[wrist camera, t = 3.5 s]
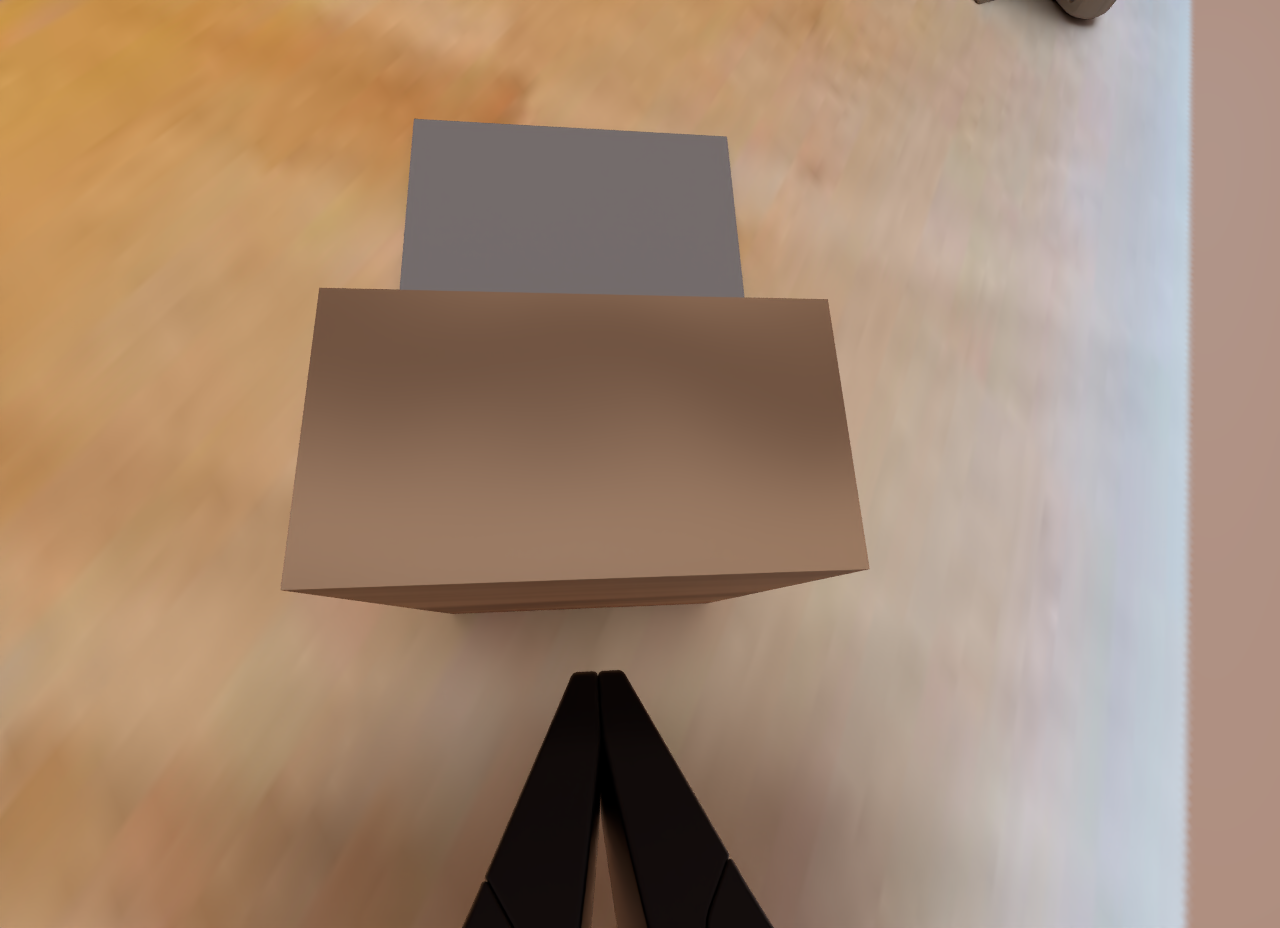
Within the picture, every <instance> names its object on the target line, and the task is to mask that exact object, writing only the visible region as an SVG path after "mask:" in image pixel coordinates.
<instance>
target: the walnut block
mask: <svg viewBox="0 0 1280 928" xmlns="http://www.w3.org/2000/svg"><path fill="white" fill-rule="evenodd" d="M868 569H869V562H868V556H867V549H866V543H865V536H864V530H863V524H862V517H861V511H860V504H859V498H858V491H857V485H856V478H855V472H854V465H853V459H852V453H851V446H850V440H849V433H848V427H847V420H846V414H845V407H844V401H843V394H842V388H841V382H840V375H839V369H838V362H837V356H836V349H835V343H834V336H833V330H832V323H831V317H830V311H829V304H828V299H787V298H743V297H699V296H655V295H611V294H567V293H523V292H479V291H435V290H390V289H346V288H319V295H318V303H317V310H316V318H315V326H314V334H313V342H312V349H311V357H310V365H309V373H308V380H307V388H306V396H305V404H304V411H303V419H302V427H301V435H300V443H299V450H298V458H297V466H296V474H295V481H294V489H293V497H292V505H291V512H290V520H289V528H288V536H287V543H286V551H285V559H284V567H283V575H282V582H281V590H283V591H290V592H298V593H305V594H312V595H319V596H327V597H334V598H341V599H348V600H356V601H363V602H370V603H378V604H385V605H392V606H399V607H407V608H414V609H421V610H428V611H436V612H443V613H450V614H460V613H484V612H508V611H532V610H556V609H580V608H604V607H628V606H652V605H676V604H700V603H710V602H715V601H720V600H725V599H729V598H734V597H739V596H744V595H748V594H753V593H758V592H763V591H767V590H772V589H777V588H782V587H787V586H791V585H796V584H801V583H806V582H810V581H815V580H820V579H825V578H829V577H834V576H839V575H844V574H848V573H853V572H858V571H863V570H868Z"/></svg>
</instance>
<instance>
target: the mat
mask: <svg viewBox="0 0 1280 928" xmlns="http://www.w3.org/2000/svg"><path fill="white" fill-rule="evenodd" d="M400 290H435V291H479V292H523V293H567V294H611V295H655V296H699V297H743V298H744V290H743V281H742V271H741V262H740V253H739V244H738V235H737V226H736V216H735V207H734V198H733V189H732V180H731V170H730V161H729V152H728V143H727V137H724V136H706V135H689V134H671V133H653V132H636V131H618V130H600V129H583V128H565V127H548V126H530V125H512V124H495V123H477V122H459V121H442V120H424V119H414V125H413V137H412V149H411V161H410V173H409V184H408V196H407V208H406V220H405V232H404V244H403V256H402V268H401V280H400Z"/></svg>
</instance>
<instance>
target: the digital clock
mask: <svg viewBox="0 0 1280 928" xmlns="http://www.w3.org/2000/svg"><path fill="white" fill-rule="evenodd" d="M990 1H994V0H976V2H977V3H979V4H981V3H986V2H990ZM1056 1H1057V2H1058V3H1059V5H1060V6H1061V7H1062V8H1063V9H1064V10H1065V11H1066V12H1067V13H1068V14H1070V15H1072V16H1074V17H1077V18H1082V19H1092V18H1095V17H1098V16H1100V15H1102V14H1104V13H1106V12H1107V11H1108V10H1109V9H1110V7H1111V6H1112V5H1113V4H1114V2H1115V1H1116V0H1056Z"/></svg>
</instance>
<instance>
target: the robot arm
mask: <svg viewBox="0 0 1280 928" xmlns="http://www.w3.org/2000/svg"><path fill="white" fill-rule="evenodd" d="M600 803H601V816H602V824H603V832H604V839H605V846H606V853H607V860H608V867H609V873H610V880H611V887H612V894H613V901H614V908H615V915H616V922H617V928H774V927H773V925H772V924H771V923H770V921H769V919H768V918H767V916H766V914H765V913H764V911H763V910H762V908H761V906H760V905H759V903H758V902H757V900H756V898H755V897H754V895H753V893H752V892H751V890H750V889H749V887H748V885H747V884H746V882H745V880H744V878H743V877H742V875H741V873H740V872H739V870H738V868H737V866H736V865H735V863H734V861H733V860H732V859H729V853H728V851H727V850H726V848H725V846H724V844H723V843H722V841H721V839H720V837H719V836H718V834H717V832H716V831H715V829H714V827H713V825H712V824H711V822H710V820H709V818H708V817H707V815H706V813H705V812H704V810H703V808H702V806H701V805H700V803H699V801H698V799H697V798H696V796H695V794H694V792H693V791H692V789H691V787H690V786H689V784H688V782H687V780H686V779H685V777H684V775H683V773H682V772H681V770H680V768H679V767H678V765H677V763H676V761H675V760H674V758H673V756H672V754H671V753H670V751H669V749H668V748H667V746H666V744H665V742H664V741H663V739H662V737H661V735H660V734H659V732H658V730H657V729H656V727H655V725H654V723H653V722H652V720H651V718H650V716H649V715H648V713H647V711H646V710H645V708H644V706H643V704H642V703H641V701H640V699H639V697H638V696H637V694H636V692H635V691H634V689H633V687H632V685H631V684H630V682H629V680H628V678H627V677H626V675H625V674H624V672H623V671H621V670H610V671H601V672H600V673H599V674H598V675H597V673H596V672H593V671H591V672H576V673H574V674H573V675H572V676H571V678H570V680H569V683H568V685H567V687H566V690H565V692H564V694H563V697H562V699H561V701H560V704H559V706H558V708H557V710H556V713H555V715H554V717H553V720H552V722H551V724H550V727H549V729H548V731H547V734H546V736H545V738H544V741H543V743H542V745H541V748H540V750H539V752H538V755H537V757H536V759H535V762H534V764H533V766H532V768H531V771H530V773H529V775H528V778H527V780H526V782H525V785H524V787H523V789H522V792H521V794H520V796H519V799H518V801H517V803H516V806H515V808H514V810H513V813H512V815H511V817H510V820H509V822H508V824H507V826H506V829H505V831H504V833H503V836H502V838H501V840H500V843H499V845H498V847H497V850H496V852H495V854H494V857H493V859H492V861H491V864H490V866H489V868H488V871H487V873H486V875H485V881H484V882H482V884H481V886H480V888H479V891H478V893H477V895H476V898H475V900H474V902H473V905H472V907H471V909H470V911H469V914H468V916H467V918H466V920H465V922H464V924H463V927H462V928H591V924H592V912H593V899H594V886H595V874H596V861H597V848H598V836H599V820H600Z"/></svg>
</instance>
